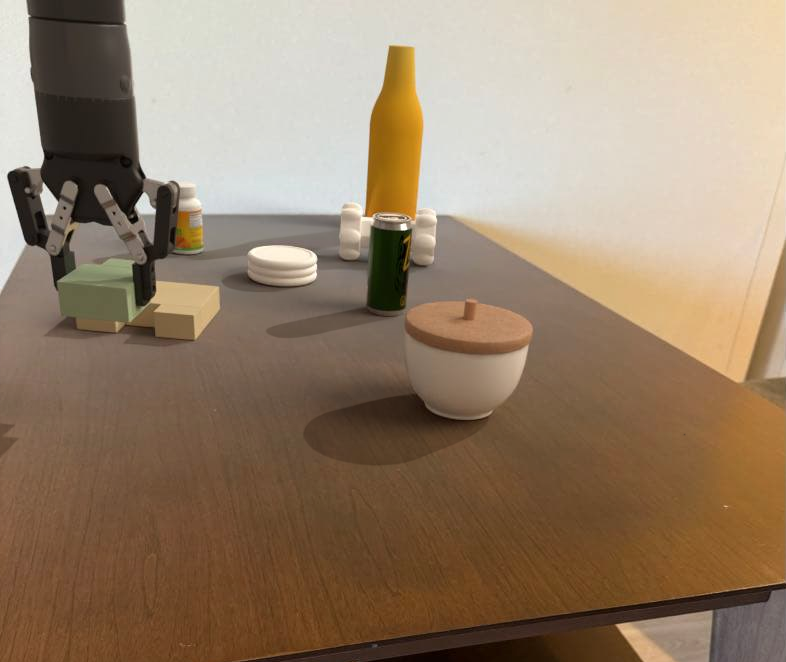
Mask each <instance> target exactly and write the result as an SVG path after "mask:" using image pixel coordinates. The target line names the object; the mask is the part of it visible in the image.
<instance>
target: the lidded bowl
mask: <svg viewBox="0 0 786 662" xmlns="http://www.w3.org/2000/svg"><path fill="white" fill-rule="evenodd" d="M533 329H534V328H533V326H532V324H531V322H530V321H529V320H528V319H527V318H525V317H524V316H522V315H521V314H518V313H516V312H514V311H512V310H509V309H506V308H503V307H498V306H495V305H490V304H485V303H479V302H478V300H477V299H474V298H468V299H467V298H466V299H465V300H464V301H458V300H456V301H455V300H452V301H451V300H450V301H449V300H448V301H446V300H445V301H434V302H427V303H423V304H420V305H417V306H413V307H412V308H411V309H409V310H408V311H407V313H405V317H404V330H405V333H404V348H403V349H404V363H405V369H406V374H407V378H408V380H409V383H410V385H411V387H412V389H413V390H414V392H415V393H416V394H417V396H418V397H419V398H420V399H421V400H422V401H423V402H424V407H425V408H426V409H427V410H428V411H429V412H431V413H433V414H435V415H437V416H440V417H443V418H447V419H451V420H452V419H453V420H457V421H460V420H461V421H474V420H480V419H483V418H486V417H489V416H491V414H492V413H493V411H494V410H495V409H497V408H498V407H500V406H501V405H502V404H504V403H505V402H506V401H507V400H508V399H509V397H510V396H511V395H512V394H513V393H514V391H515V390H516V388H517V387H518V385H519V382H520V380H521V378H522V376H523V373H524V369H525V367H526V362H527V358H528V353H529V348H530V343H531V341H532V336H533V333H534V330H533Z"/></svg>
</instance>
